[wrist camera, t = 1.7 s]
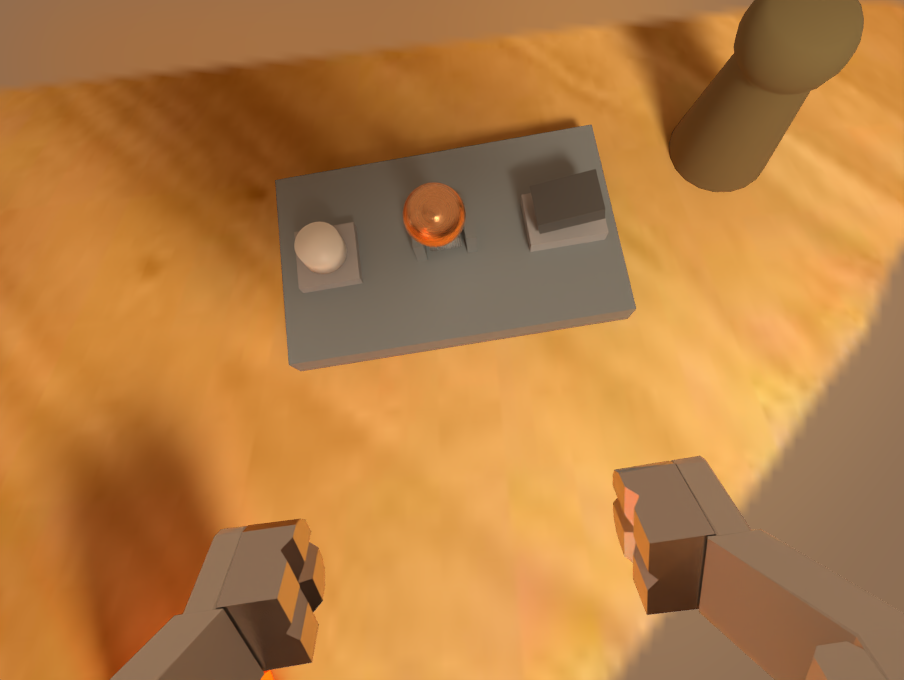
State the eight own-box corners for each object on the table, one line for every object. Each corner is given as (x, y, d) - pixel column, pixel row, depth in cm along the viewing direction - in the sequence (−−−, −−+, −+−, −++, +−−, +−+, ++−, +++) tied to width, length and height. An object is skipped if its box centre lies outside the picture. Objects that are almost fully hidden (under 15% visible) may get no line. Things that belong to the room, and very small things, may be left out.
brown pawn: (673, 103, 36) (749, -55, 25) (770, 113, 35) (891, -45, 24) (664, 186, 34) (741, 56, 24) (764, 198, 34) (891, 70, 23)
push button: (304, 277, 31) (296, 268, 30) (301, 236, 32) (292, 225, 30) (349, 270, 31) (342, 260, 30) (344, 228, 32) (337, 218, 30)
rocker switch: (539, 234, 30) (537, 225, 29) (532, 195, 31) (529, 185, 30) (605, 218, 30) (605, 208, 29) (595, 179, 30) (595, 168, 29)
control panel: (300, 371, 33) (275, 357, 29) (287, 195, 36) (261, 162, 32) (627, 318, 32) (645, 297, 28) (586, 143, 35) (597, 102, 31)
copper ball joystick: (427, 255, 32) (405, 251, 20) (420, 215, 32) (393, 183, 19) (467, 249, 32) (471, 240, 20) (460, 208, 32) (460, 172, 19)
